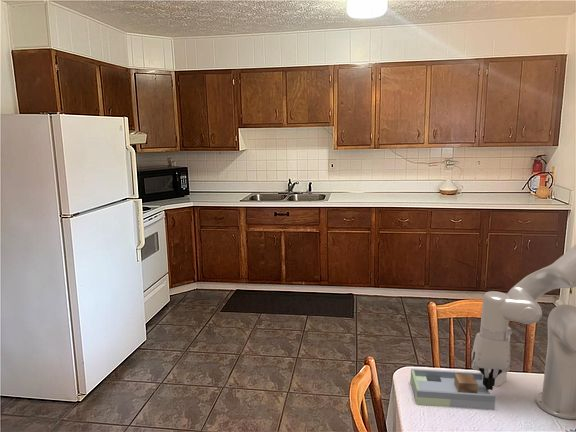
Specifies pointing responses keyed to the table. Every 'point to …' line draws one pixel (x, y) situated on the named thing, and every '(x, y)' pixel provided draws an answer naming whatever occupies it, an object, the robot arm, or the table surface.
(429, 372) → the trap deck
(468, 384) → the block
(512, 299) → the robot arm
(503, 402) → the table surface
